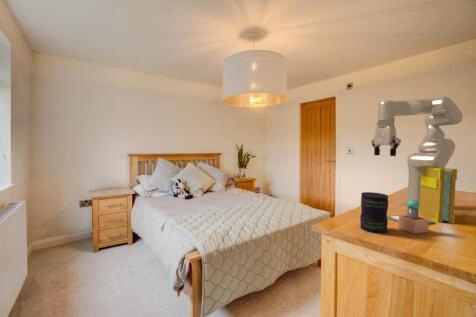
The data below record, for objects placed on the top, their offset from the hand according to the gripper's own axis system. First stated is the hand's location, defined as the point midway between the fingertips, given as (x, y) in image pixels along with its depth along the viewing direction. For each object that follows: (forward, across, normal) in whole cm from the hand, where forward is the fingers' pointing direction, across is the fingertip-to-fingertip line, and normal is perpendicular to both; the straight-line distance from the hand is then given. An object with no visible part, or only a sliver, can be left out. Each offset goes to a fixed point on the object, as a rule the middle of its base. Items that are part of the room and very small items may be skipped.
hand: (384, 155), depth 119 cm
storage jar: (+31, +22, -29) cm, 47 cm away
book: (+31, +16, +14) cm, 37 cm away
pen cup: (+30, +27, -14) cm, 43 cm away
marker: (+30, +27, -14) cm, 42 cm away
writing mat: (+30, +17, -3) cm, 35 cm away
